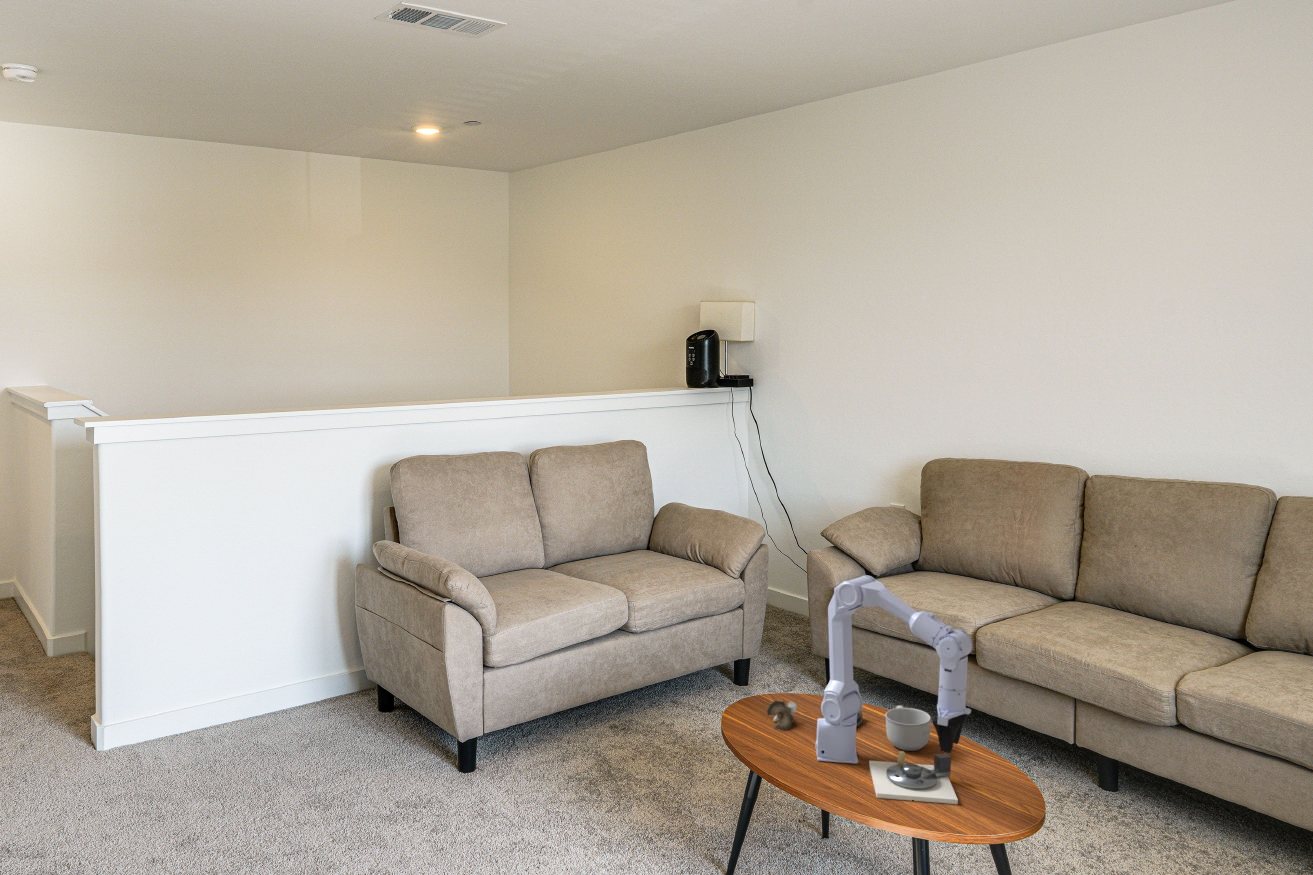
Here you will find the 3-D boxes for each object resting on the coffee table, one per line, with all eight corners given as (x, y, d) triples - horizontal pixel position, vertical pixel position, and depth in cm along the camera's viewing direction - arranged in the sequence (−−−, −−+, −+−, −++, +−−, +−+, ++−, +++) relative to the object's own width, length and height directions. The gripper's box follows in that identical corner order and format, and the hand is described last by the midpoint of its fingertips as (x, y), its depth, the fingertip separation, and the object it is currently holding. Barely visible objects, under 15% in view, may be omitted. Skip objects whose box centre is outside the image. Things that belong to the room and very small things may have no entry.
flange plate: (903, 791, 200) (904, 772, 199) (877, 770, 210) (877, 751, 210) (962, 783, 204) (963, 764, 204) (933, 763, 215) (934, 745, 214)
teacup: (931, 756, 221) (933, 724, 221) (885, 752, 223) (887, 720, 223) (925, 734, 235) (926, 704, 234) (881, 730, 237) (883, 700, 236)
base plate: (876, 797, 199) (877, 779, 199) (868, 764, 216) (869, 747, 216) (957, 804, 197) (958, 786, 197) (943, 770, 214) (944, 753, 214)
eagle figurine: (764, 711, 245) (759, 717, 237) (779, 690, 245) (776, 695, 236) (787, 730, 243) (783, 736, 235) (803, 708, 243) (800, 714, 234)
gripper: (962, 700, 192) (959, 763, 193) (979, 681, 205) (976, 740, 206) (929, 693, 196) (926, 754, 197) (947, 674, 208) (944, 733, 209)
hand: (949, 747), depth 202 cm, fingers open, 5 cm apart
